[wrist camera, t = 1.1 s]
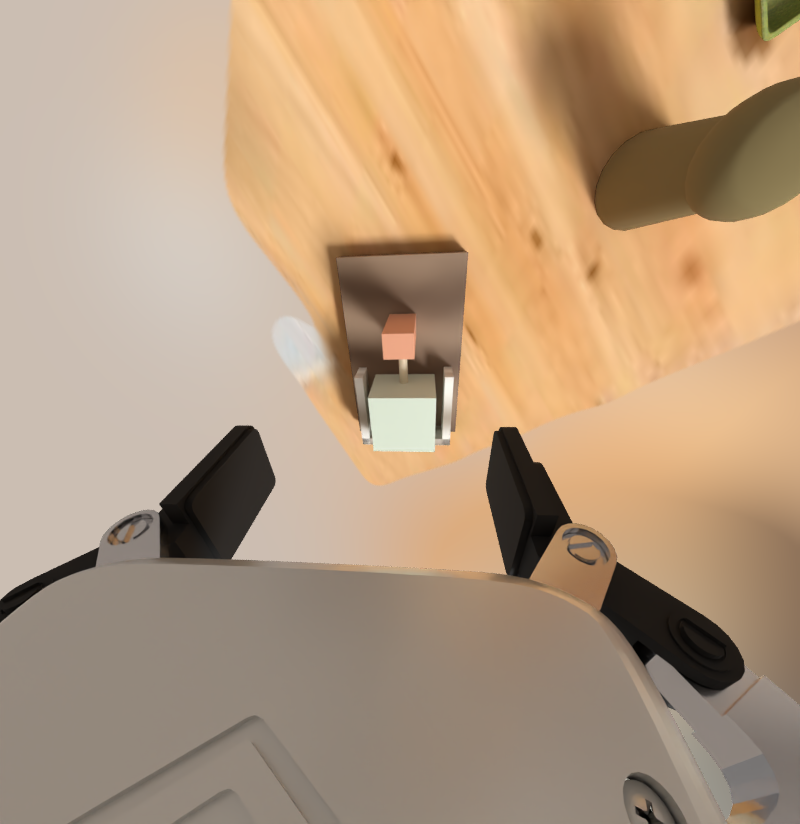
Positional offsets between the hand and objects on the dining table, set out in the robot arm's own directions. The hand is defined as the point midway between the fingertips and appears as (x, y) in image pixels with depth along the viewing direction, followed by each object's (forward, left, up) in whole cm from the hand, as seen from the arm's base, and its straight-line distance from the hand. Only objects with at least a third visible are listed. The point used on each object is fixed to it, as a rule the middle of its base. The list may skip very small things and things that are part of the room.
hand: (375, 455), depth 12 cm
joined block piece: (+5, 0, -18) cm, 19 cm away
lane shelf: (+3, 0, -20) cm, 20 cm away
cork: (-10, +18, -20) cm, 29 cm away
